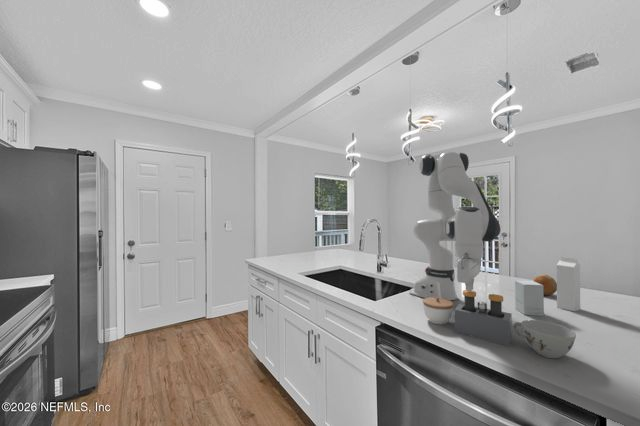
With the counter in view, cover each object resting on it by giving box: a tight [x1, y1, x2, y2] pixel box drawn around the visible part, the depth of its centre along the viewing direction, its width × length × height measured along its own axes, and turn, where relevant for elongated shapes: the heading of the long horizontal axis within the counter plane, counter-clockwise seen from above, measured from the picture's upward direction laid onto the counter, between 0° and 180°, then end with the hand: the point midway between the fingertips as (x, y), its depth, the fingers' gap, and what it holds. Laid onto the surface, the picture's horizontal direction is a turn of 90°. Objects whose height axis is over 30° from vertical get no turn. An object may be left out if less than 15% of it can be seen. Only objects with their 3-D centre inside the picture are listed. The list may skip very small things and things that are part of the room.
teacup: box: [513, 319, 577, 359], centre depth 82 cm, size 15×12×8 cm
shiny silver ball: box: [477, 301, 488, 313], centre depth 93 cm, size 3×3×3 cm
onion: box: [532, 274, 557, 296], centre depth 136 cm, size 10×10×10 cm
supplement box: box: [514, 280, 545, 317], centre depth 113 cm, size 7×7×13 cm
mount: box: [454, 303, 513, 347], centre depth 94 cm, size 16×8×8 cm, turn 50°
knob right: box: [488, 293, 504, 318], centre depth 91 cm, size 4×4×9 cm
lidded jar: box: [422, 297, 454, 326], centre depth 105 cm, size 11×11×9 cm
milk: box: [556, 256, 581, 312], centre depth 117 cm, size 6×6×22 cm
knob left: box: [462, 289, 477, 312], centre depth 96 cm, size 4×4×9 cm
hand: (469, 290), depth 96 cm, fingers closed
